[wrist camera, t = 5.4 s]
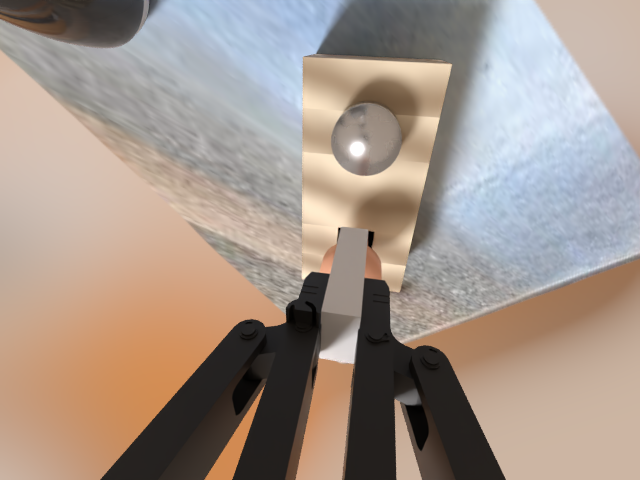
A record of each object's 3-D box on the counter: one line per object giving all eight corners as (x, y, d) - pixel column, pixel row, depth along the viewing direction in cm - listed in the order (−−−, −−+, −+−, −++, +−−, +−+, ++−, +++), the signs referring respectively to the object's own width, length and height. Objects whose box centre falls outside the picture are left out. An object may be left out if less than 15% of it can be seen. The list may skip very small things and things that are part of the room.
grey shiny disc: (342, 89, 32) (333, 102, 26) (403, 93, 31) (408, 107, 25) (338, 148, 35) (329, 172, 29) (393, 153, 34) (395, 179, 28)
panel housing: (315, 53, 31) (302, 56, 26) (440, 59, 30) (452, 64, 25) (311, 251, 44) (302, 278, 39) (397, 262, 43) (399, 292, 38)
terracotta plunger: (331, 212, 35) (320, 249, 29) (385, 218, 35) (385, 257, 28) (328, 255, 39) (318, 297, 32) (378, 261, 38) (377, 305, 32)
